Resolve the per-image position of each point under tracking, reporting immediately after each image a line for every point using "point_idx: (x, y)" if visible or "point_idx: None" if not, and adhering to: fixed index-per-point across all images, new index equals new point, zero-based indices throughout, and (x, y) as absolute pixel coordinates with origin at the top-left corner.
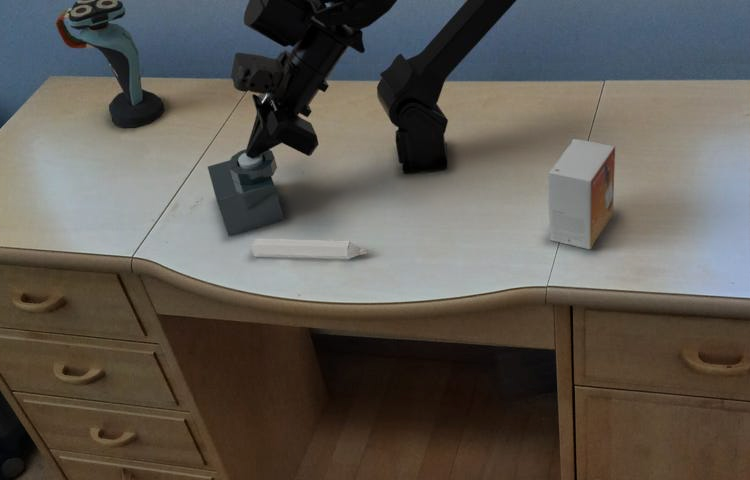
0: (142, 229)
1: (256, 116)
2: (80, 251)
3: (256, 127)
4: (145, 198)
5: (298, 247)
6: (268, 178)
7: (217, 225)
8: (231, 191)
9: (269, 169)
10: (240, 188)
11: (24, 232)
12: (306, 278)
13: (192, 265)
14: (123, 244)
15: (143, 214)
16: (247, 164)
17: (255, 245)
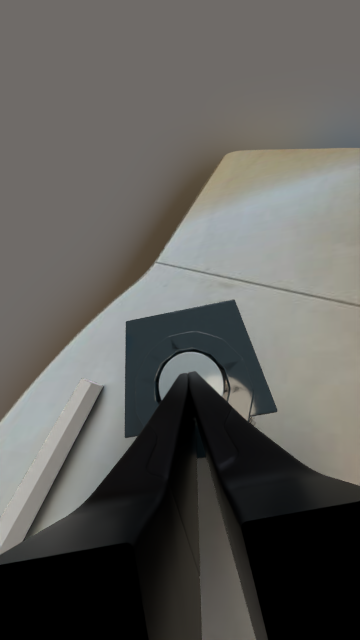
0: (194, 263)
1: (278, 456)
2: (179, 228)
3: (205, 435)
4: (249, 257)
5: (36, 456)
6: None
7: None
8: (140, 343)
9: None
10: (141, 359)
11: (217, 193)
12: (14, 455)
13: (117, 312)
14: (176, 253)
15: (220, 260)
16: (161, 375)
17: (79, 383)
